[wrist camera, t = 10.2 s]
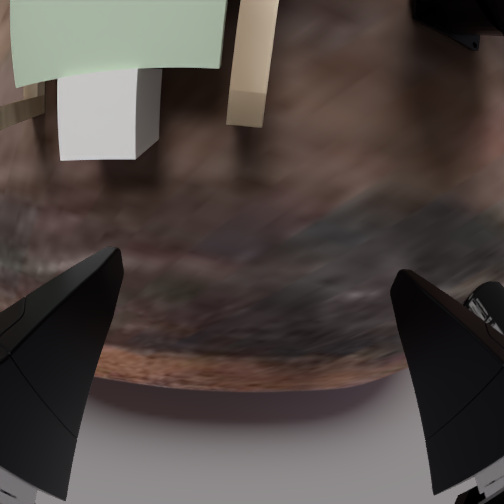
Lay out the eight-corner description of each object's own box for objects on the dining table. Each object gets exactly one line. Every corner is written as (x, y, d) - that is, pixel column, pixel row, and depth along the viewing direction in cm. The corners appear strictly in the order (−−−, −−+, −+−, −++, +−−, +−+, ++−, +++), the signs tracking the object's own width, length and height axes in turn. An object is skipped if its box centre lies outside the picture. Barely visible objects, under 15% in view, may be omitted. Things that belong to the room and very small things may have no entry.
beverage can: (503, 292, 29) (548, 356, 19) (469, 324, 31) (507, 393, 21) (492, 268, 26) (547, 340, 16) (454, 305, 29) (500, 384, 19)
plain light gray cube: (137, 68, 12) (135, 159, 15) (162, 69, 16) (158, 139, 19) (57, 78, 12) (60, 160, 14) (95, 74, 16) (95, 140, 19)
